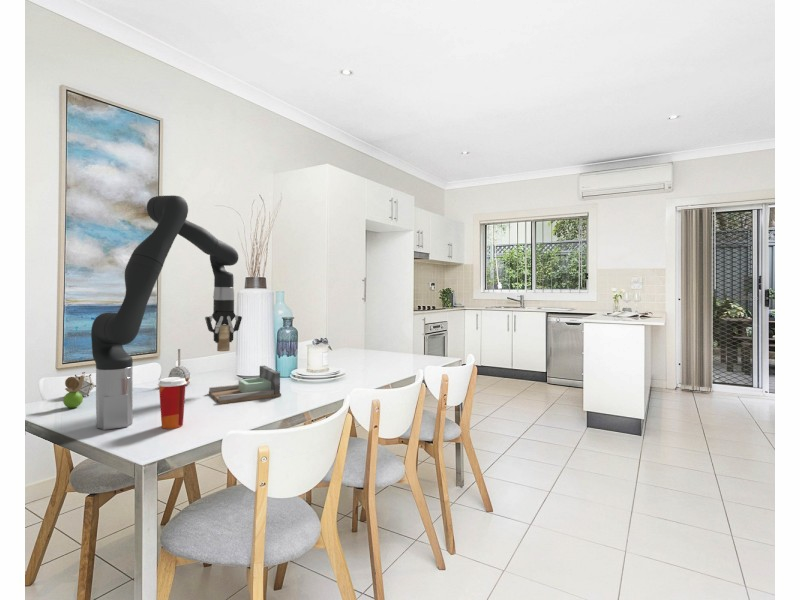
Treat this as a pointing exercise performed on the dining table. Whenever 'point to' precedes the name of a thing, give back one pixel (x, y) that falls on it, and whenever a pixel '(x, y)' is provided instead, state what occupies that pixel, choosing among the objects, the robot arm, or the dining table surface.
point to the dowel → (224, 338)
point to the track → (234, 395)
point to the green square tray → (254, 385)
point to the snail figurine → (73, 391)
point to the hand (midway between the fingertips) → (223, 342)
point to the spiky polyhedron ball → (86, 385)
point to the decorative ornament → (180, 371)
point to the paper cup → (172, 401)
